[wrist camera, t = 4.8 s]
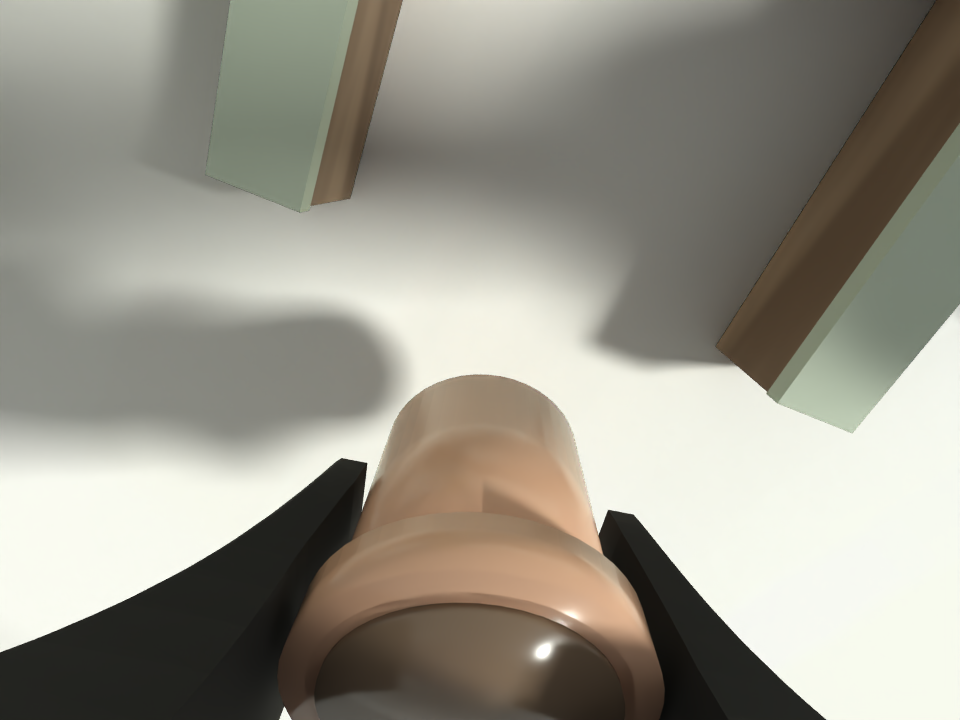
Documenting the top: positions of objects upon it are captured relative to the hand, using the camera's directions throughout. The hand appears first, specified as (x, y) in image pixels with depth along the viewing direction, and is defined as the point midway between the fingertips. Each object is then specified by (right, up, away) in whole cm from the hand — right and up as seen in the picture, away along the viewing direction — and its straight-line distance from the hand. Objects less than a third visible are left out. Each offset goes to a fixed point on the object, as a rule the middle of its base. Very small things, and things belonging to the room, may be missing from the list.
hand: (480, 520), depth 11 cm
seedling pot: (0, +1, +1) cm, 2 cm away
